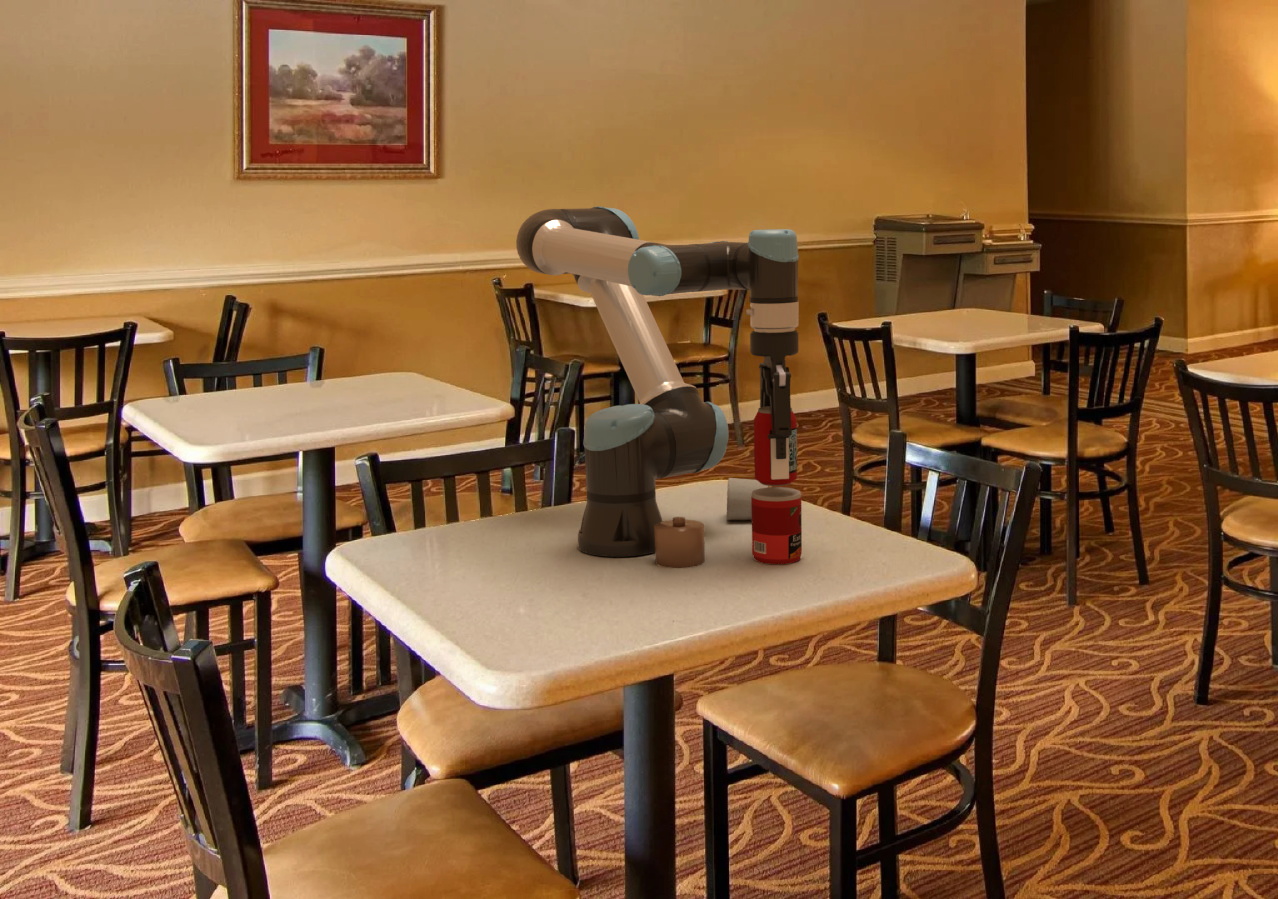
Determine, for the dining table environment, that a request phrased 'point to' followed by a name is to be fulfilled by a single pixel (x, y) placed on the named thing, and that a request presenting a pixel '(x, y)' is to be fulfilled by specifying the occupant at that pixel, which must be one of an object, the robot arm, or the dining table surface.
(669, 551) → the sugar bowl
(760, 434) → the beverage can
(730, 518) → the ceramic mug
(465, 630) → the dining table surface
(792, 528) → the canned food
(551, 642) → the dining table surface
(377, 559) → the dining table surface
